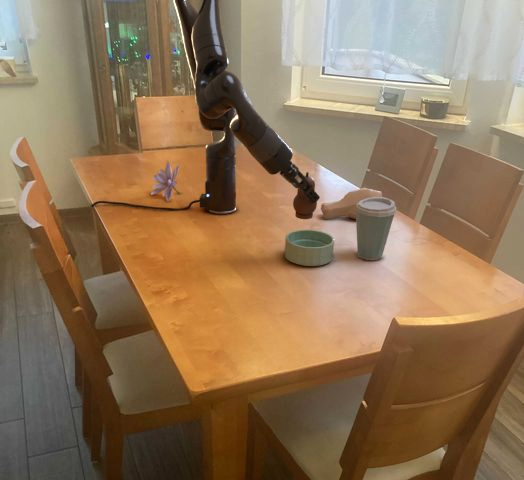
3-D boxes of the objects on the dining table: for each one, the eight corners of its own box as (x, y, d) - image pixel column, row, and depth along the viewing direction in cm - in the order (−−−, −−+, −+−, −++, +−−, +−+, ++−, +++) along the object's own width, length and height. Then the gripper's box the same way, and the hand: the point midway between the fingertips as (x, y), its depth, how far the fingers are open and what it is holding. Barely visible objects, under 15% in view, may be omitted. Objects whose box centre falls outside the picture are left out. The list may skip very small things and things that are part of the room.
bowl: (283, 266, 141) (284, 246, 138) (285, 247, 152) (286, 228, 149) (332, 269, 140) (334, 249, 137) (331, 249, 151) (333, 231, 148)
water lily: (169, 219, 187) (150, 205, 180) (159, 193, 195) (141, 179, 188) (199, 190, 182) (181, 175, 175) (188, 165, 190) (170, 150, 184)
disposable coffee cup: (364, 266, 142) (372, 210, 134) (341, 251, 150) (347, 197, 142) (396, 259, 147) (406, 205, 138) (372, 245, 155) (380, 193, 146)
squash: (388, 222, 172) (391, 196, 165) (326, 232, 170) (326, 206, 164) (377, 205, 179) (379, 180, 173) (318, 214, 178) (318, 189, 172)
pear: (291, 219, 136) (294, 174, 130) (292, 211, 141) (295, 168, 135) (315, 221, 136) (319, 176, 130) (315, 213, 141) (319, 169, 135)
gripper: (249, 153, 133) (292, 198, 143) (266, 169, 122) (312, 217, 132) (270, 130, 132) (312, 177, 141) (290, 144, 120) (334, 194, 130)
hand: (312, 196), depth 136 cm, fingers closed on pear, 5 cm apart
